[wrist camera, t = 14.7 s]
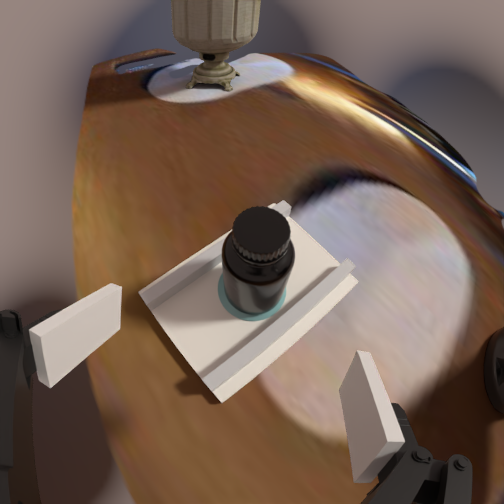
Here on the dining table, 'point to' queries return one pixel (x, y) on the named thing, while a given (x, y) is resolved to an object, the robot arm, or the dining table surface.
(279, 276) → the supplement bottle
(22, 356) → the robot arm
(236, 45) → the samovar
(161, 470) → the dining table surface
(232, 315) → the rail cradle
